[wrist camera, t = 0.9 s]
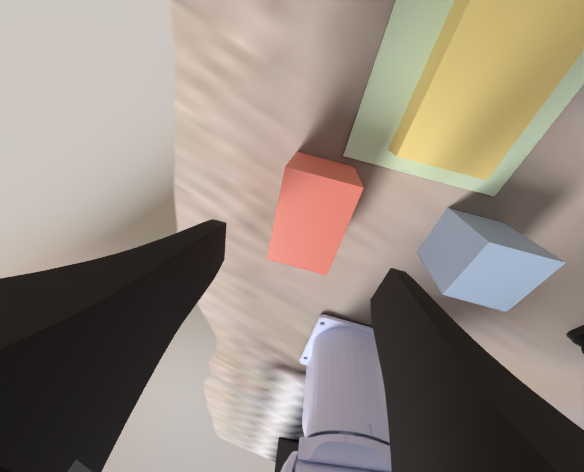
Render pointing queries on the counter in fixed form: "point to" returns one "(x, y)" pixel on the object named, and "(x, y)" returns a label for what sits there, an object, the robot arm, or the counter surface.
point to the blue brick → (484, 260)
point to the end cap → (577, 336)
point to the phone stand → (284, 452)
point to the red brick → (313, 212)
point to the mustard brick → (488, 81)
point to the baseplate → (402, 82)
